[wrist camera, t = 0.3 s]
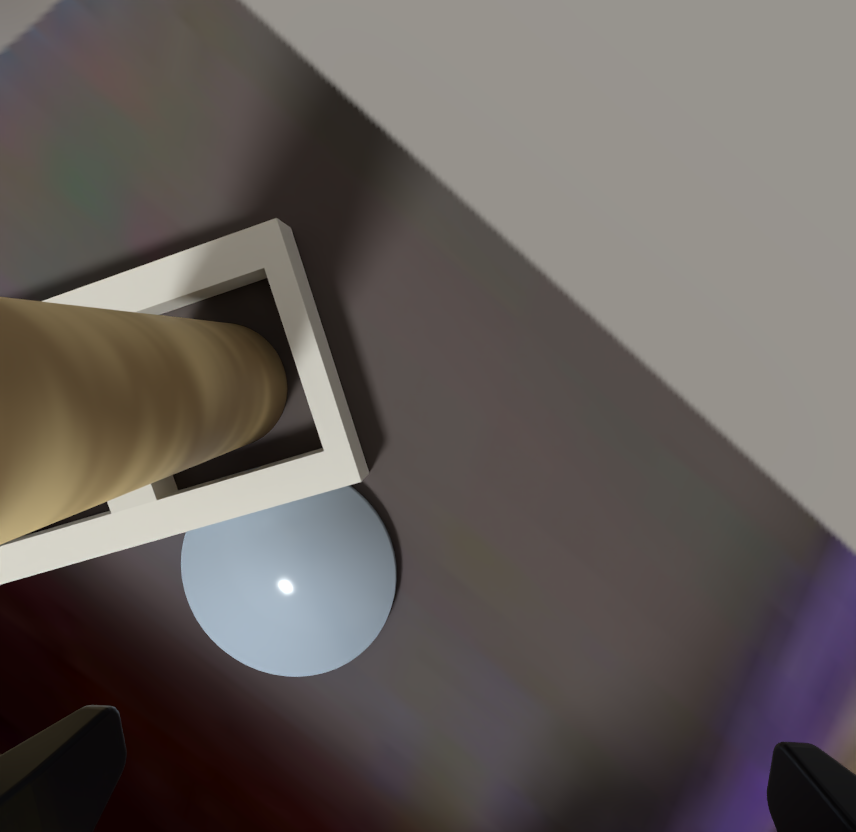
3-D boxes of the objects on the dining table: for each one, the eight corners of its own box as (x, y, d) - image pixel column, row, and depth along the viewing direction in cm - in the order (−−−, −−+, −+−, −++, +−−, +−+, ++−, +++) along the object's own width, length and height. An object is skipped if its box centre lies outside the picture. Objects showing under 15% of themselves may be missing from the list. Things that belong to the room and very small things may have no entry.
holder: (369, 472, 21) (361, 481, 20) (-14, 582, 24) (-47, 597, 22) (290, 227, 20) (276, 217, 19) (-100, 364, 23) (-140, 365, 21)
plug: (286, 450, 22) (-54, 627, 8) (168, 442, 22) (-353, 596, 8) (288, 325, 21) (-77, 276, 7) (167, 320, 21) (-399, 262, 8)
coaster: (392, 681, 22) (390, 687, 22) (186, 659, 23) (181, 665, 23) (401, 471, 21) (400, 473, 21) (185, 455, 22) (180, 457, 22)
